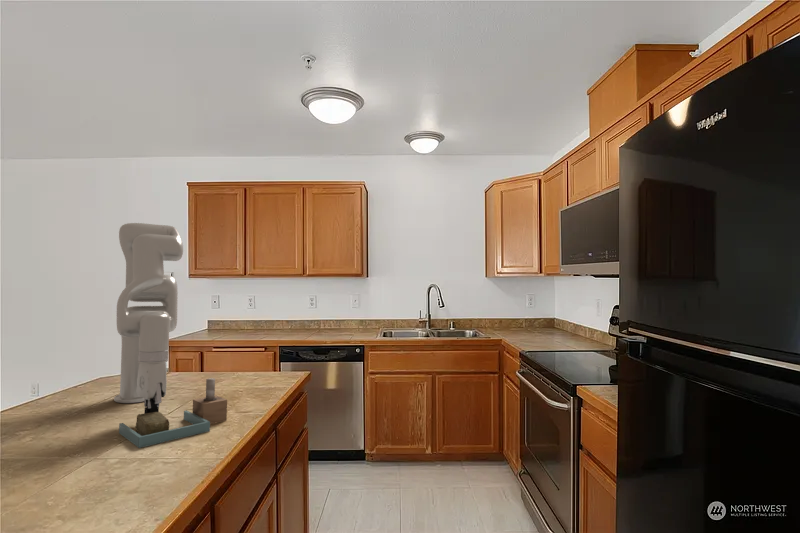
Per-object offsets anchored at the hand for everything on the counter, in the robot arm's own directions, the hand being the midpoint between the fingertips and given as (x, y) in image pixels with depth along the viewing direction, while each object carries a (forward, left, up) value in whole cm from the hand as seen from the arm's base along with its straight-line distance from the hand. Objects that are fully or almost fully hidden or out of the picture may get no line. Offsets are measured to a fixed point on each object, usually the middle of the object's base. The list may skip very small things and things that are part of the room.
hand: (151, 420), depth 129 cm
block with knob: (+9, +13, -1) cm, 16 cm away
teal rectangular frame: (+10, 0, -1) cm, 10 cm away
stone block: (+10, -3, -1) cm, 10 cm away
